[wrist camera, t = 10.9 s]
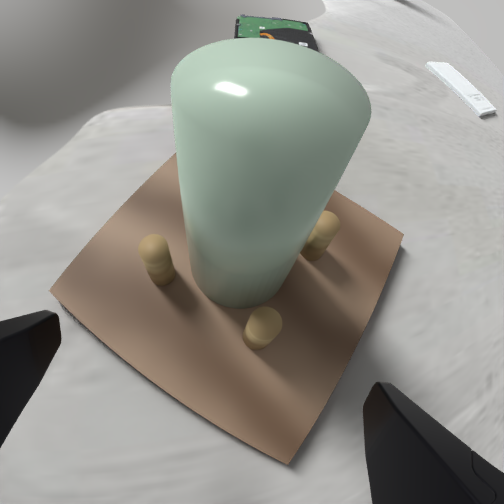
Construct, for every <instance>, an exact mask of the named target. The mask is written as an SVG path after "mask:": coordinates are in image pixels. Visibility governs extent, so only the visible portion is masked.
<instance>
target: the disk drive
mask: <svg viewBox="0 0 504 504" xmlns="http://www.w3.org/2000/svg"><path fill="white" fill-rule="evenodd" d="M237 38H266V39H275V40H281V41H286V42H290V43H294V44H298V45H301V46H304V47H307V48H310V49H312V50H315V51H317V52H319V51H318V48H317V45H316V42H315V40H314V37H313V35H312V31H311V28H310V27H309V24H308V23H306V22H300V21H293V20H287V19H281V18H265V17H253V16H245V15H241V16H238V18H237V19H236V26H235V37H234V39H237Z"/></svg>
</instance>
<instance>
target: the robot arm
mask: <svg viewBox="0 0 504 504" xmlns="http://www.w3.org/2000/svg"><path fill="white" fill-rule="evenodd" d="M60 344H61V330H60V322H59V317H58V315H57V314H56V313H54V312H51V311H48V310H43V311H39V312H35V313H31V314H27V315H23V316H19V317H15V318H12V319H8V320H4V321H0V448H1V446H2V444H3V443H4V441H5V439H6V437H7V436H8V434H9V432H10V431H11V429H12V427H13V425H14V424H15V422H16V420H17V419H18V417H19V416H20V414H21V412H22V411H23V409H24V407H25V406H26V404H27V403H28V401H29V399H30V398H31V396H32V395H33V393H34V392H35V390H36V389H37V387H38V385H39V384H40V382H41V380H42V378H43V376H44V374H45V373H46V371H47V369H48V367H49V365H50V363H51V361H52V359H53V357H54V355H55V354H56V352H57V350H58V348H59V346H60ZM363 421H364V439H365V455H366V463H367V469H368V475H369V482H370V489H371V496H372V504H504V473H503V472H501V471H500V470H498V469H497V468H496V467H494V466H493V465H491V464H490V463H489V462H487V461H486V460H485V459H483V458H482V457H481V456H480V455H478V454H477V453H476V452H475V451H473V450H472V451H471V448H470V447H468V446H467V445H466V444H465V443H463V442H462V441H461V440H460V439H458V438H457V437H456V436H455V435H453V434H452V433H451V432H450V431H448V430H447V429H446V428H445V427H444V426H442V425H441V424H440V423H439V422H437V421H436V420H435V419H434V418H432V417H431V416H430V415H429V414H427V413H426V412H425V411H424V410H423V409H421V408H420V407H419V406H418V405H416V404H415V403H414V402H413V401H412V400H410V399H409V398H408V397H407V396H405V395H404V394H403V393H402V392H401V391H399V390H398V389H397V388H396V387H395V386H393V385H392V384H391V383H388V382H376V383H375V384H374V386H373V387H372V389H371V391H370V393H369V395H368V397H367V399H366V401H365V403H364V405H363Z"/></svg>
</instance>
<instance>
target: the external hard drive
mask: <svg viewBox="0 0 504 504" xmlns="http://www.w3.org/2000/svg"><path fill="white" fill-rule="evenodd" d="M425 67H426V68H427V69H429V70H430V71H431V72H432V73H433V74H434V75H436V76H437V77H438V78H439V79H440V80H441V81H442V82H443V83H445V84H446V85H447V86H448V87H449V88H450V89H451V90H452V91H453V92H454V93H455V94H456V95H457V96H459V97H460V98H461V99H462V100H463V101H464V102H465V103H466V104H467V105H468V106H469V107H470V108H471V109H472V110H473V111H474V112H475V113H476V115H477V116H478V117H481V116H484V115H486V114H492V113H495V112H496V108H495V107H494V106H493V105H492V104H491V103H490V102H489V101H488V100H487V99H486V98H485V97H484V96H483V95H482V94H481V93H480V92H479V91H478V90H477V89H476V88H475V87H474V86H473V85H472V84H471V83H470V82H469V81H468V80H467V79H466V78H464V77H463V76H462V75H461V74H460V73H459V72H458V71H457V70H456V69H454V68H453V67H452V66H451V65H450V64H449V63H444V62H427V64H426V65H425Z"/></svg>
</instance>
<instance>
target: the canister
mask: <svg viewBox="0 0 504 504" xmlns="http://www.w3.org/2000/svg"><path fill="white" fill-rule="evenodd" d="M171 100H172V113H173V125H174V136H175V147H176V156H177V166H178V175H179V184H180V192H181V200H182V208H183V216H184V224H185V231H186V238H187V245H188V252H189V259H190V265H191V271H192V275H193V278H194V280H195V282H196V284H197V286H198V287H199V289H200V290H201V291H202V292H203V293H204V294H205V295H206V296H207V297H208V298H209V299H211V300H212V301H214V302H216V303H217V304H220V305H222V306H225V307H229V308H236V309H244V308H251V307H255V306H258V305H260V304H263V303H264V302H266V301H268V300H269V299H270V298H272V297H273V296H274V295H275V294H276V293H277V292H278V290H279V289H280V287H281V286H282V284H283V282H284V280H285V279H286V277H287V275H288V273H289V272H290V270H291V268H292V266H293V265H294V263H295V261H296V259H297V258H298V256H299V254H300V252H301V250H302V249H303V247H304V245H305V243H306V241H307V240H308V238H309V236H310V234H311V232H312V230H313V229H314V227H315V225H316V223H317V221H318V219H319V218H320V216H321V214H322V212H323V210H324V208H325V207H326V205H327V203H328V201H329V199H330V197H331V195H332V193H333V192H334V190H335V188H336V186H337V184H338V182H339V180H340V178H341V176H342V174H343V173H344V171H345V169H346V167H347V165H348V163H349V161H350V159H351V157H352V155H353V153H354V151H355V149H356V147H357V145H358V143H359V141H360V140H361V138H362V136H363V134H364V132H365V130H366V128H367V126H368V123H369V121H370V118H371V104H370V100H369V97H368V95H367V93H366V91H365V89H364V88H363V86H362V85H361V83H360V82H359V81H358V80H357V79H356V78H355V77H354V76H353V75H352V74H351V73H350V72H349V71H348V70H347V69H345V68H344V67H343V66H342V65H340V64H339V63H337V62H336V61H334V60H332V59H331V58H329V57H327V56H325V55H323V54H321V53H319V52H317V51H315V50H312V49H310V48H307V47H304V46H301V45H298V44H294V43H290V42H286V41H281V40H275V39H266V38H237V39H229V40H223V41H219V42H215V43H212V44H209V45H206V46H203V47H201V48H199V49H197V50H195V51H193V52H192V53H190V54H189V55H187V56H186V57H185V58H184V59H183V60H181V62H180V63H179V64H178V65H177V66H176V68H175V70H174V72H173V74H172V77H171Z"/></svg>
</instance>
